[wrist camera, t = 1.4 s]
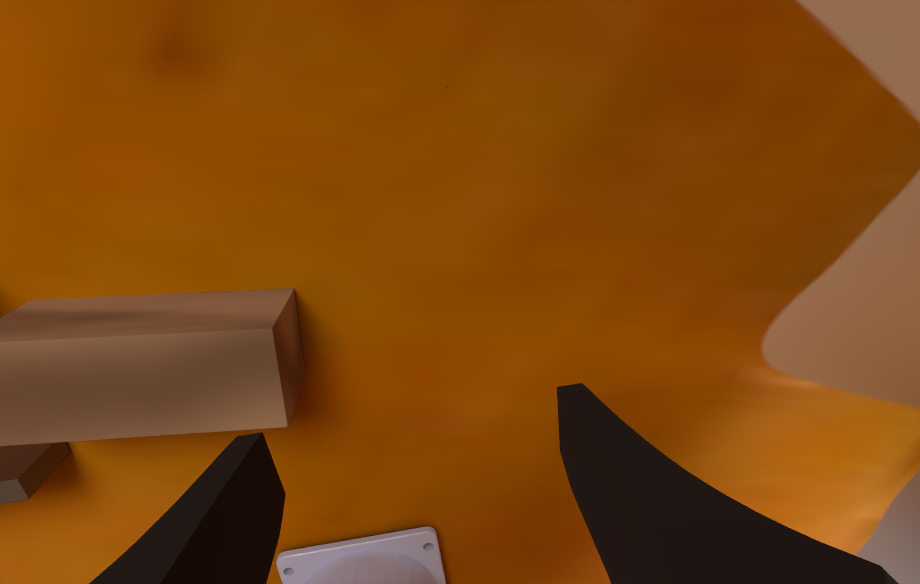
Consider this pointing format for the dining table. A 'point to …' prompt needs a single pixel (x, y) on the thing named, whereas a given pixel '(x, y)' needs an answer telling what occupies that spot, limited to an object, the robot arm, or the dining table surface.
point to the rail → (149, 365)
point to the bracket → (28, 468)
